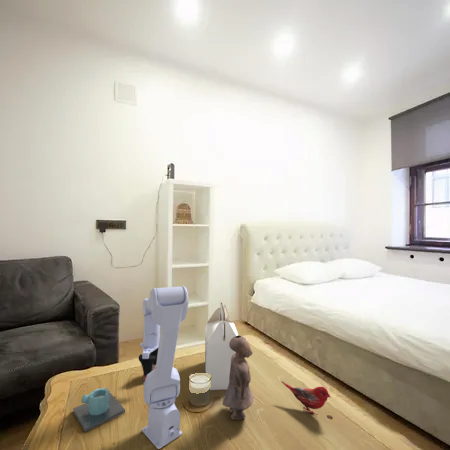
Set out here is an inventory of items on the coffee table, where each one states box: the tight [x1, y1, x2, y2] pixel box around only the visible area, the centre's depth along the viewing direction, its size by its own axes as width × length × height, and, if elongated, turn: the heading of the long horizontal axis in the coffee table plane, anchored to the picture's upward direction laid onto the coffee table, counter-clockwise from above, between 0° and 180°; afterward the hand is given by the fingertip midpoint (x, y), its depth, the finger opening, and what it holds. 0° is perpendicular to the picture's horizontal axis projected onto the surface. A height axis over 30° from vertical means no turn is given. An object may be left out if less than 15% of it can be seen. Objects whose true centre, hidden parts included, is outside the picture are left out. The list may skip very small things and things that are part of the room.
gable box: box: [204, 302, 239, 391], centre depth 109 cm, size 22×13×28 cm, turn 5°
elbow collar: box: [81, 387, 111, 415], centre depth 84 cm, size 8×6×5 cm
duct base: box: [72, 392, 126, 433], centre depth 84 cm, size 12×12×5 cm
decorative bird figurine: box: [280, 380, 332, 416], centre depth 87 cm, size 3×18×10 cm, turn 49°
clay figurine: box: [222, 334, 255, 421], centre depth 85 cm, size 13×10×25 cm
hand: (150, 369), depth 93 cm, fingers open, 7 cm apart
